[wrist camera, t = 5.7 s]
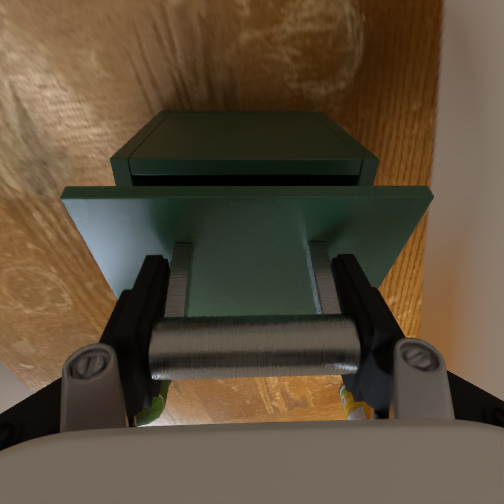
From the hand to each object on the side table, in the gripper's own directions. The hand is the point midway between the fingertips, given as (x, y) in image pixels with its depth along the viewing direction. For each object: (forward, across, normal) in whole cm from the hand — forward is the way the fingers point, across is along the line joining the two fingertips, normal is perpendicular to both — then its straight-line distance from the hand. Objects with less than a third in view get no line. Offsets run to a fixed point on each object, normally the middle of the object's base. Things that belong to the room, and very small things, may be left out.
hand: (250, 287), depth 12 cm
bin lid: (+3, 0, +3) cm, 4 cm away
